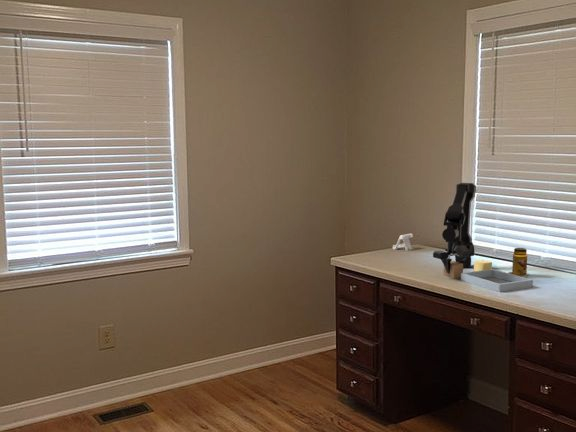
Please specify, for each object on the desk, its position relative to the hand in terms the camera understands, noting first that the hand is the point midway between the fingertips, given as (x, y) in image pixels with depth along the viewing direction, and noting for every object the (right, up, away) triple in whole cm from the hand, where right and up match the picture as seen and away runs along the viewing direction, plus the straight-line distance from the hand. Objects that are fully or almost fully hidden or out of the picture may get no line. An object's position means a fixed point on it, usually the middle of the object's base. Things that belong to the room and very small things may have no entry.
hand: (453, 272), depth 290 cm
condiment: (+29, -1, +2) cm, 29 cm away
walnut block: (0, -2, 0) cm, 2 cm away
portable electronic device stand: (-11, +7, +63) cm, 65 cm away
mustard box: (+15, -1, +8) cm, 17 cm away
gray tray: (+15, -3, -14) cm, 20 cm away
